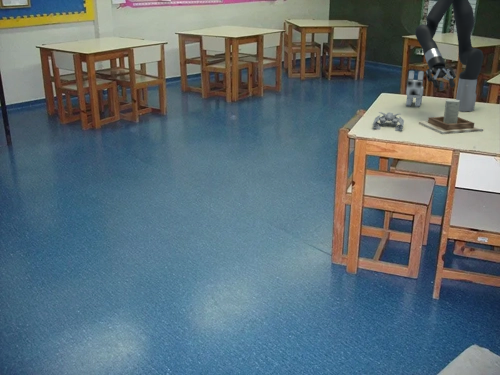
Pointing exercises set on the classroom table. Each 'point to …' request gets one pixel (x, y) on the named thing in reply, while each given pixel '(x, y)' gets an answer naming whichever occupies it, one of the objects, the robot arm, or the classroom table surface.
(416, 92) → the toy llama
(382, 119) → the spaceship toy
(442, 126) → the holder
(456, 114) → the skincare box
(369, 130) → the classroom table surface
